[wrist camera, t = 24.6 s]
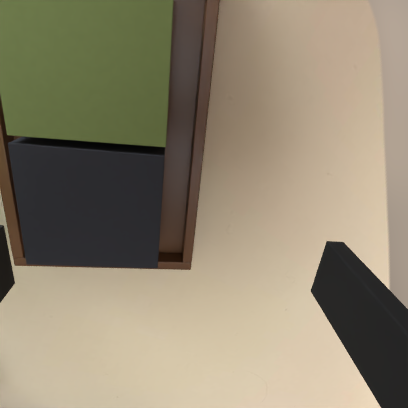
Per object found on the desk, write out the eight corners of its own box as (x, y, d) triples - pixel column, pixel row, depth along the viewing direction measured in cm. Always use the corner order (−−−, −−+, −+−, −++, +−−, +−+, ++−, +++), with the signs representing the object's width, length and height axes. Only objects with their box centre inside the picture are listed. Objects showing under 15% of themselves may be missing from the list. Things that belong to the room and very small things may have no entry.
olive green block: (173, -1, 19) (174, -22, 15) (166, 131, 23) (166, 147, 18) (24, -22, 18) (-25, -53, 13) (41, 121, 21) (6, 135, 17)
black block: (165, 138, 23) (164, 156, 18) (159, 234, 26) (157, 268, 22) (41, 127, 21) (7, 142, 17) (52, 229, 25) (26, 264, 20)
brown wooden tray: (-30, -79, 17) (-54, -97, 15) (219, -37, 19) (225, -48, 17) (25, 252, 26) (14, 266, 24) (189, 257, 28) (190, 270, 26)
